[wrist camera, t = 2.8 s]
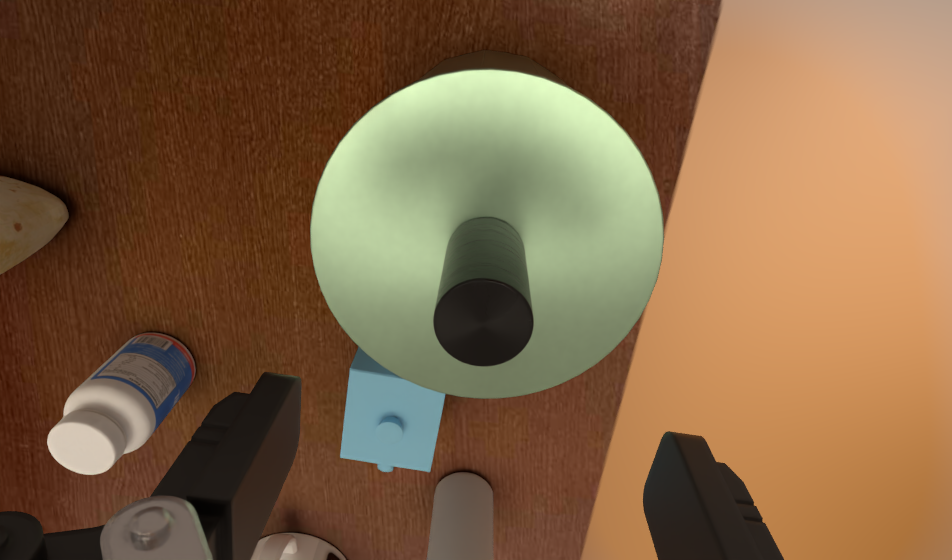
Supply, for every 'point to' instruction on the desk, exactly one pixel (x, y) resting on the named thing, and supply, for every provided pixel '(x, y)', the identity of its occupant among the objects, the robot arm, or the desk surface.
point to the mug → (295, 548)
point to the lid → (487, 233)
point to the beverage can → (462, 519)
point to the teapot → (389, 418)
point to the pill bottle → (121, 403)
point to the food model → (26, 220)
